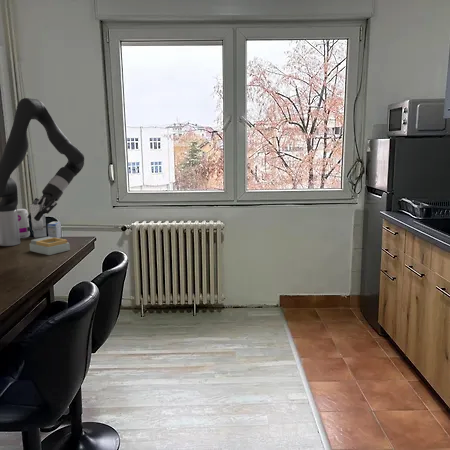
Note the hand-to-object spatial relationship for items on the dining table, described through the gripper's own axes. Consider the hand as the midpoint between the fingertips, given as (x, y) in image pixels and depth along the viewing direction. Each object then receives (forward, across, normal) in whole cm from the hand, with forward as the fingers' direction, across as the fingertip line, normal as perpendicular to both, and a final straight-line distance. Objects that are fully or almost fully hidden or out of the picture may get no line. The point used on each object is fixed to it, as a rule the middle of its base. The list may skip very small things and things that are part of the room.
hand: (32, 219), depth 178 cm
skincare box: (-8, -44, +33) cm, 55 cm away
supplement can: (-3, -52, +29) cm, 59 cm away
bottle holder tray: (+3, -11, +22) cm, 25 cm away
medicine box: (-8, -32, +34) cm, 47 cm away
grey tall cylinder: (+2, 0, +5) cm, 5 cm away
